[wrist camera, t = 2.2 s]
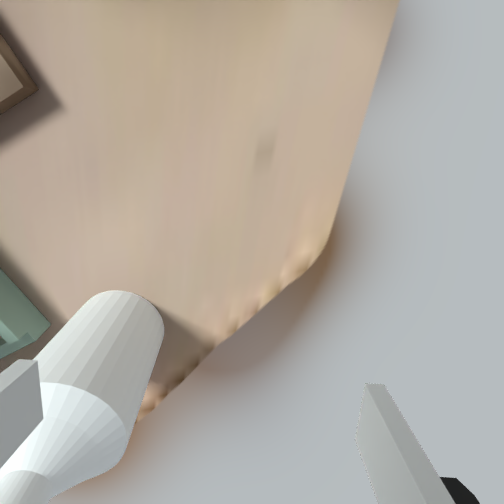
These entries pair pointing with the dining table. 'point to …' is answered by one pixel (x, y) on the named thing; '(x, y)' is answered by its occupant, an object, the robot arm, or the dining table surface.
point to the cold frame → (17, 318)
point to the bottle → (86, 397)
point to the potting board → (12, 79)
